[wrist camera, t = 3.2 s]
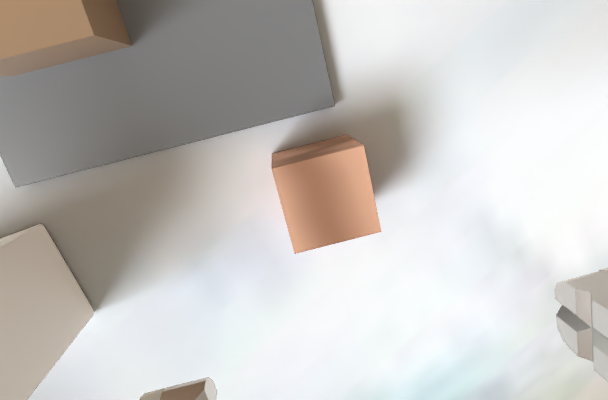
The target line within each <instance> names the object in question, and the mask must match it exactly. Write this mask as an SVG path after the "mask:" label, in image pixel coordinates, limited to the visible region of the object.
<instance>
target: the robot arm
mask: <svg viewBox="0 0 608 400" xmlns="http://www.w3.org/2000/svg"><path fill="white" fill-rule="evenodd" d="M555 299H556V300H557V301H558V302H559V303H560V304H561V305H562V306H561V308H560V310H559V311H558V313H557V315H556V319H557V328H558V330H559V332H560V335H561V337H562V339H563V341H564V342H565V343H566V345H567V346H568V347H569V349H571V350H572V351H573V352H574V353H575V354H576V355H577V356H579V357H582V358H585V359H588V360H591V361H593V366H594V371H596V372H597V373H598V374H599V375H600V376H601V377H602V378H604V379H605V380H606V381H607V382H608V268H606V269H602V270H599V271H598V272H595V273H591V274H587V275H584V276H580V277H576V278H573V279H569V280H566V281H562V282H558V283H557V285H556V287H555ZM216 397H217V389H216V387H215V384H214V382H213V380H212V379H211V378H209V377H207V378H203V379H199V380H195V381H191V382H187V383H183V384H179V385H175V386H171V387H167V388H163V389H160V390H156V391H152V392H148V393H145V394H144V395H143V396H141V397H140V399H139V400H216Z"/></svg>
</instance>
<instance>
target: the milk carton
mask: <svg viewBox="0 0 608 400" xmlns="http://www.w3.org/2000/svg"><path fill="white" fill-rule="evenodd" d="M93 315H94V311H93V309H92V307H91V305H90V303H89V302H88V300H87V298H86V296H85V295H84V293H83V291H82V290H81V288H80V286H79V285H78V283H77V281H76V279H75V278H74V276H73V274H72V273H71V271H70V269H69V267H68V266H67V264H66V262H65V261H64V259H63V257H62V256H61V254H60V252H59V250H58V249H57V247H56V245H55V244H54V242H53V240H52V238H51V237H50V235H49V233H48V232H47V230H46V228H45V227H44V226H43V225H42V224H38V225H36V226H33V227H30V228H28V229H25V230H22V231H19V232H17V233H14V234H11V235H8V236H6V237H3V238H0V400H27V399H28V398H29V397H30V395H31V394H32V393H33V392H34V390H35V389H36V388H37V386H38V385H39V384H40V383H41V381H42V380H43V379H44V377H45V376H46V375H47V374H48V372H49V371H50V370H51V369H52V367H53V366H54V365H55V363H56V362H57V361H58V360H59V358H60V357H61V356H62V354H63V353H64V352H65V351H66V349H67V348H68V347H69V346H70V344H71V343H72V342H73V340H74V339H75V338H76V337H77V335H78V334H79V333H80V331H81V330H82V329H83V328H84V326H85V325H86V324H87V323H88V321H89V320H90V319H91V317H92V316H93Z"/></svg>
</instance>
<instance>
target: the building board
mask: <svg viewBox="0 0 608 400" xmlns="http://www.w3.org/2000/svg"><path fill="white" fill-rule="evenodd" d="M333 106H335V104H334V99H333V95H332V90H331V85H330V81H329V76H328V71H327V67H326V62H325V57H324V53H323V48H322V43H321V39H320V34H319V29H318V25H317V20H316V16H315V11H314V6H313V2H312V0H0V156H1V158H2V160H3V162H4V164H5V166H6V169H7V171H8V173H9V175H10V177H11V179H12V181H13V183H14V186H15V187H19V186H23V185H27V184H31V183H35V182H39V181H43V180H47V179H51V178H55V177H59V176H63V175H66V174H70V173H74V172H78V171H82V170H86V169H90V168H94V167H98V166H102V165H106V164H110V163H114V162H117V161H121V160H125V159H129V158H133V157H137V156H141V155H145V154H149V153H153V152H157V151H161V150H165V149H168V148H172V147H176V146H180V145H184V144H188V143H192V142H196V141H200V140H204V139H208V138H212V137H216V136H219V135H223V134H227V133H231V132H235V131H239V130H243V129H247V128H251V127H255V126H259V125H263V124H267V123H270V122H274V121H278V120H282V119H286V118H290V117H294V116H298V115H302V114H306V113H310V112H314V111H318V110H321V109H325V108H329V107H333Z"/></svg>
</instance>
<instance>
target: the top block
mask: <svg viewBox="0 0 608 400" xmlns="http://www.w3.org/2000/svg"><path fill="white" fill-rule="evenodd" d="M272 172H273V176H274V179H275V183H276V187H277V190H278V194H279V198H280V201H281V205H282V209H283V213H284V216H285V220H286V224H287V227H288V231H289V235H290V238H291V242H292V246H293V249H294V253H295V254H296V253H300V252H304V251H308V250H312V249H315V248H319V247H323V246H327V245H331V244H335V243H339V242H343V241H347V240H351V239H355V238H359V237H362V236H366V235H370V234H374V233H378V232H381V228H380V223H379V218H378V213H377V208H376V203H375V198H374V193H373V188H372V183H371V178H370V173H369V168H368V163H367V158H366V153H365V148H364V145H363V144H361V143H360V142H358V141H356V140H355V139H353V138H352V137H350V136H349V135H343V136H339V137H335V138H331V139H328V140H324V141H320V142H316V143H312V144H308V145H304V146H300V147H296V148H292V149H288V150H284V151H280V152H276V153H272Z"/></svg>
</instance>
